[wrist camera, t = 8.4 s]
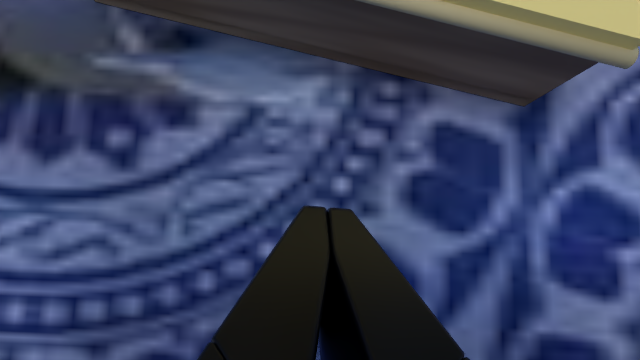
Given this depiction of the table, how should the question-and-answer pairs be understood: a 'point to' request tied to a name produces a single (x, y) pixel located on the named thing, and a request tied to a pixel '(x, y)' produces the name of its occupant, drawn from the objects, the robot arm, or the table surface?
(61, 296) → the table surface
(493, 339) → the table surface
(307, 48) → the walnut box
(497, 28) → the lid
